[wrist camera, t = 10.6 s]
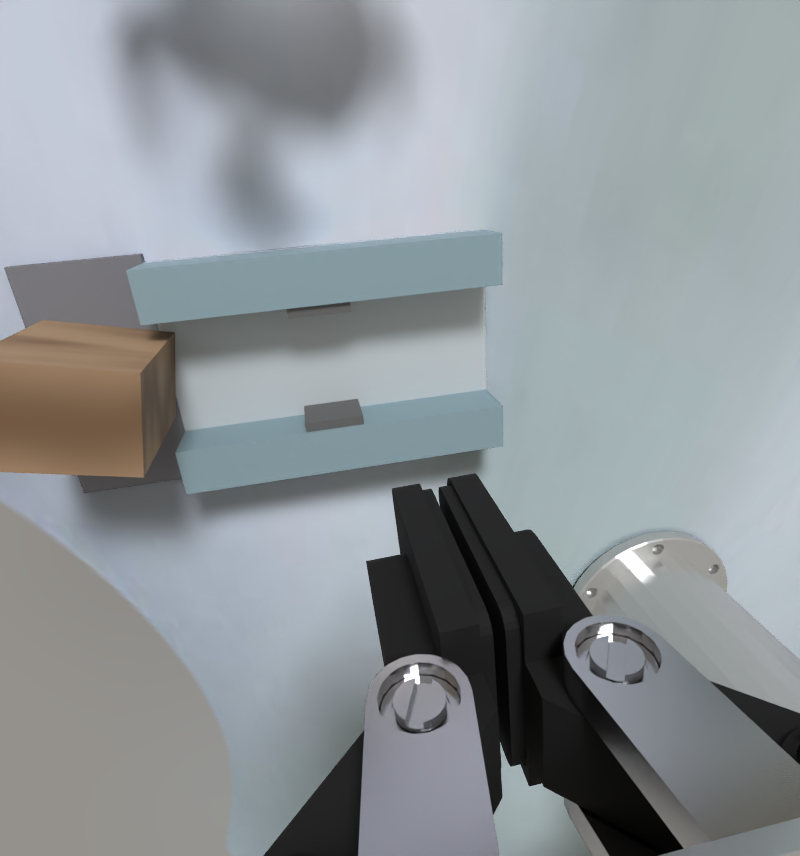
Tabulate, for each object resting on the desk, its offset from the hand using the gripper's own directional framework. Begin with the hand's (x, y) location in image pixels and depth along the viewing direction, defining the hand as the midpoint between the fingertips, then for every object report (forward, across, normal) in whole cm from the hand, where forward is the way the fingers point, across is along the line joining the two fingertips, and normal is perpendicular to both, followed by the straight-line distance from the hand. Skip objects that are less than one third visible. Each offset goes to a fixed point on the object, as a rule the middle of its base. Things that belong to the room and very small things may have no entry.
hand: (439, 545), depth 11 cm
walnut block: (+20, +12, 0) cm, 24 cm away
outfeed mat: (+21, +13, +1) cm, 24 cm away
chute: (+21, +1, +1) cm, 21 cm away
